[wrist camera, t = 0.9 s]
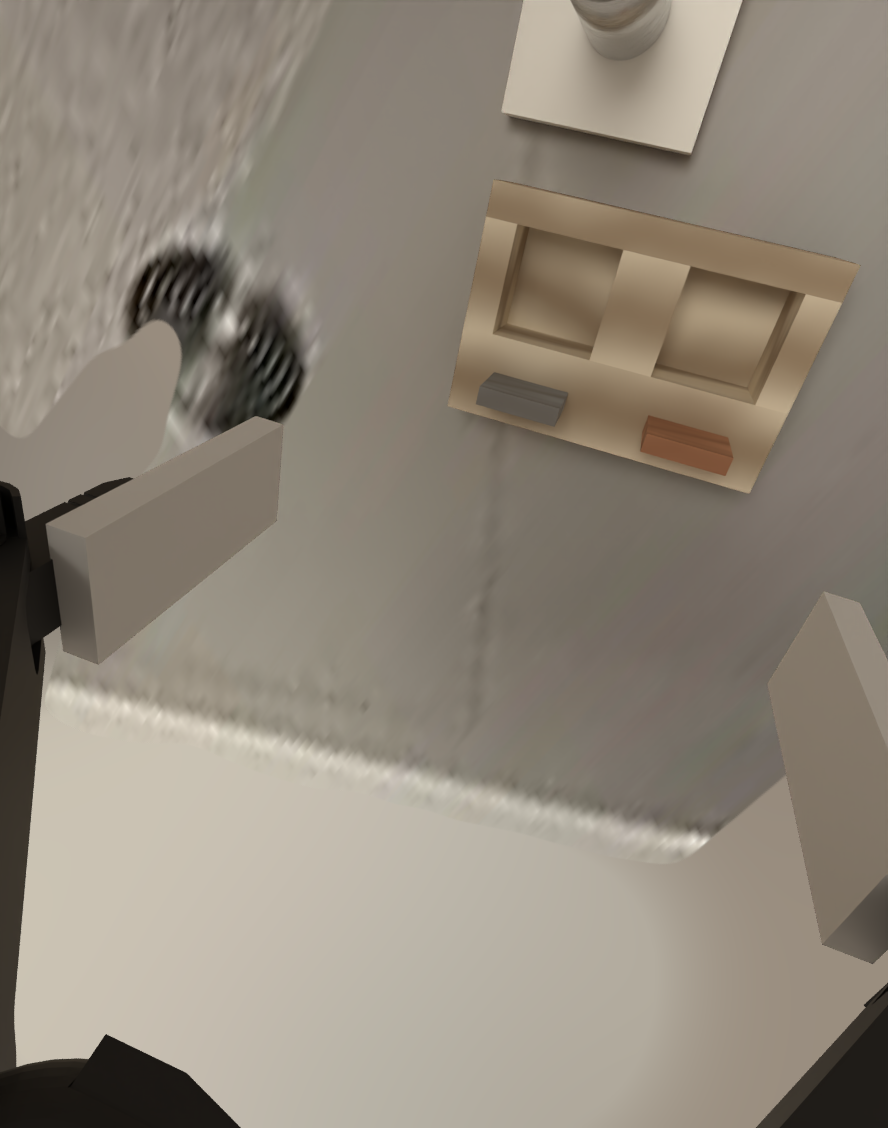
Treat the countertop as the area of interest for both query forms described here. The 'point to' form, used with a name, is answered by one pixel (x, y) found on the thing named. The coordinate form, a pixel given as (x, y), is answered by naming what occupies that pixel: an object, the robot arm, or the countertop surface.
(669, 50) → the plate
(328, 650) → the countertop surface
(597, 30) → the shaker with dark cap
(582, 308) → the socket block
